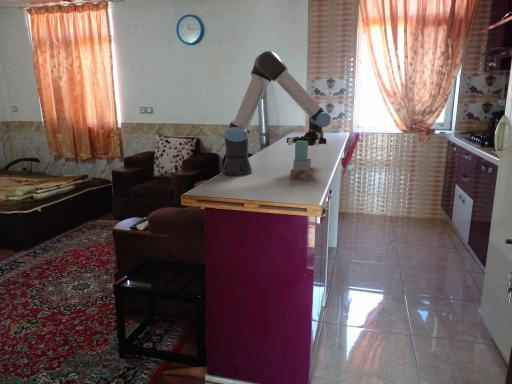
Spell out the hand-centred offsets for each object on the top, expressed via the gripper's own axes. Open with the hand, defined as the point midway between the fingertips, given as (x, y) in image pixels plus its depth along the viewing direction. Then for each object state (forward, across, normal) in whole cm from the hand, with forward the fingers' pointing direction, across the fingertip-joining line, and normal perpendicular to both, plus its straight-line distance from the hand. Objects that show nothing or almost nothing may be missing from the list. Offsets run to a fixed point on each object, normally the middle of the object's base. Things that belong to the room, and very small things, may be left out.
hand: (302, 142), depth 194 cm
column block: (+2, 0, -8) cm, 8 cm away
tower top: (+2, 0, -12) cm, 13 cm away
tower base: (+2, 0, -17) cm, 17 cm away
